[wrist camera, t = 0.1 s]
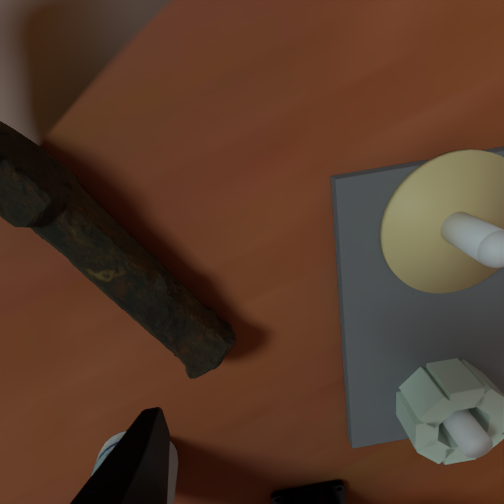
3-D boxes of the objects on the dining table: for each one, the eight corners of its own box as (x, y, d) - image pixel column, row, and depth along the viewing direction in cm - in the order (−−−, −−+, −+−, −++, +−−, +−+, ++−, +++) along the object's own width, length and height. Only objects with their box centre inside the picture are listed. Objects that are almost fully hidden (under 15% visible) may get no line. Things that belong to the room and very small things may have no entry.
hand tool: (237, 320, 25) (241, 364, 21) (193, 350, 26) (187, 399, 22) (19, 76, 19) (-41, 67, 15) (-34, 124, 19) (-106, 130, 15)
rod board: (512, 408, 30) (577, 476, 25) (348, 437, 30) (376, 513, 25) (560, 128, 22) (676, 137, 16) (329, 167, 21) (367, 190, 16)
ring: (478, 420, 29) (505, 453, 26) (396, 435, 29) (414, 470, 26) (487, 352, 27) (518, 381, 24) (396, 368, 26) (416, 399, 24)
